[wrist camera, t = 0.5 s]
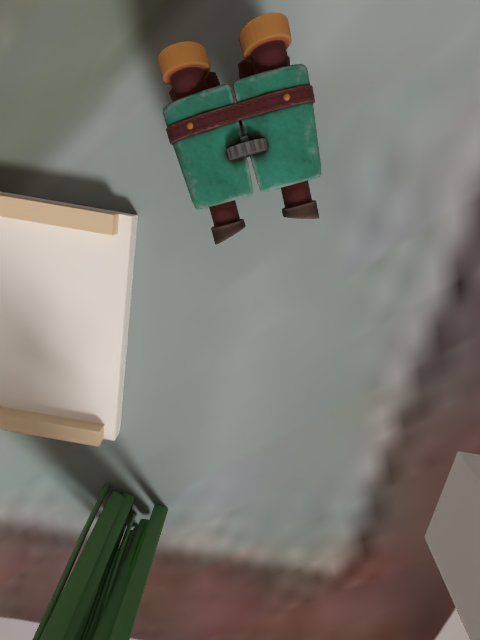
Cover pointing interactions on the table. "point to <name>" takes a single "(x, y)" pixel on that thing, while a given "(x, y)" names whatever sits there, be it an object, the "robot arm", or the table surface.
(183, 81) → the binoculars
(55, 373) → the display riser
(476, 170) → the table surface
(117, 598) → the daffodil flowers
